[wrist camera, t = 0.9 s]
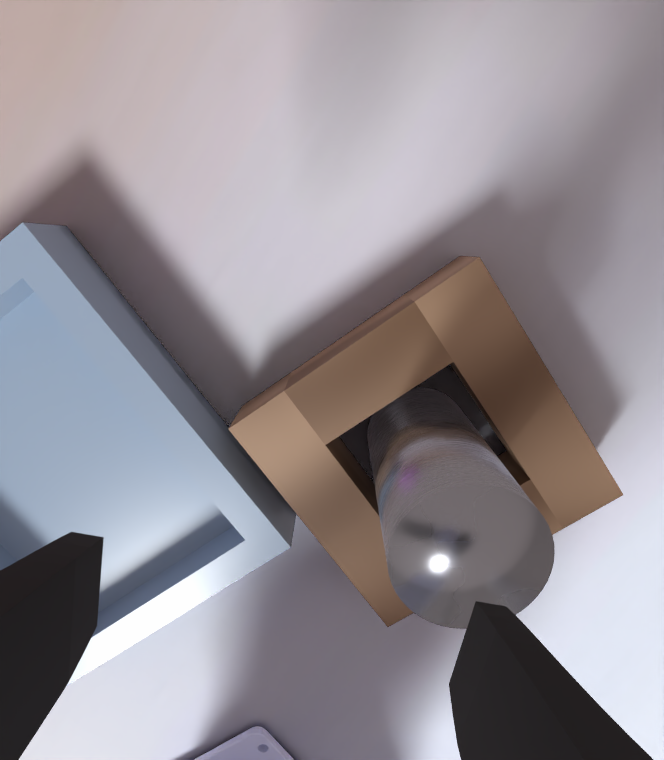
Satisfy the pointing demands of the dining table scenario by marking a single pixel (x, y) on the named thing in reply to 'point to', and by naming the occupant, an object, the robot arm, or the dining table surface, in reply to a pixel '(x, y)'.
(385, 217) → the dining table surface
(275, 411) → the socket block
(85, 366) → the tray
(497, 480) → the pin
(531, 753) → the robot arm
